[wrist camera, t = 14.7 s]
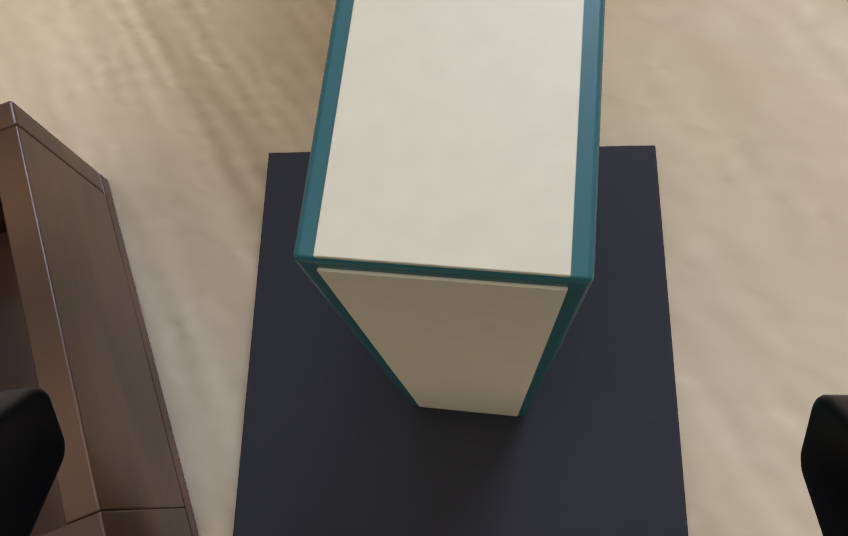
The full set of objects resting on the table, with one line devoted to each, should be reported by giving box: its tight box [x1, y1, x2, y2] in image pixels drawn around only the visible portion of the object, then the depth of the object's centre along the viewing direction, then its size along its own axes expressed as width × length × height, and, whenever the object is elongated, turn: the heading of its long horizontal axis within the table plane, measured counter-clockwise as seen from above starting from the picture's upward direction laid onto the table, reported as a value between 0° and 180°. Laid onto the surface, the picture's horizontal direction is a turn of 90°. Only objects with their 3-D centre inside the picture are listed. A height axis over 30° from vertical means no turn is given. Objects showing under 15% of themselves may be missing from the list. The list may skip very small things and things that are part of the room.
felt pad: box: [233, 146, 688, 536], centre depth 19 cm, size 20×12×1 cm, turn 179°
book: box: [294, 0, 605, 416], centre depth 15 cm, size 7×3×13 cm, turn 174°
